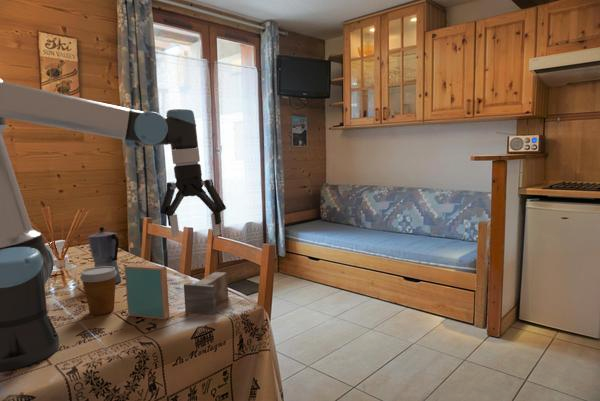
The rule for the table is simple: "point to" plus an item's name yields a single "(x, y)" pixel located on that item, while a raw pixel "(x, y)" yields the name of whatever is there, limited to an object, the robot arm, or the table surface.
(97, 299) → the disposable coffee cup
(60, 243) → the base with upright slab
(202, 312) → the tan flared wedge
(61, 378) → the table surface
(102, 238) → the moka pot
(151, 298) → the tile
